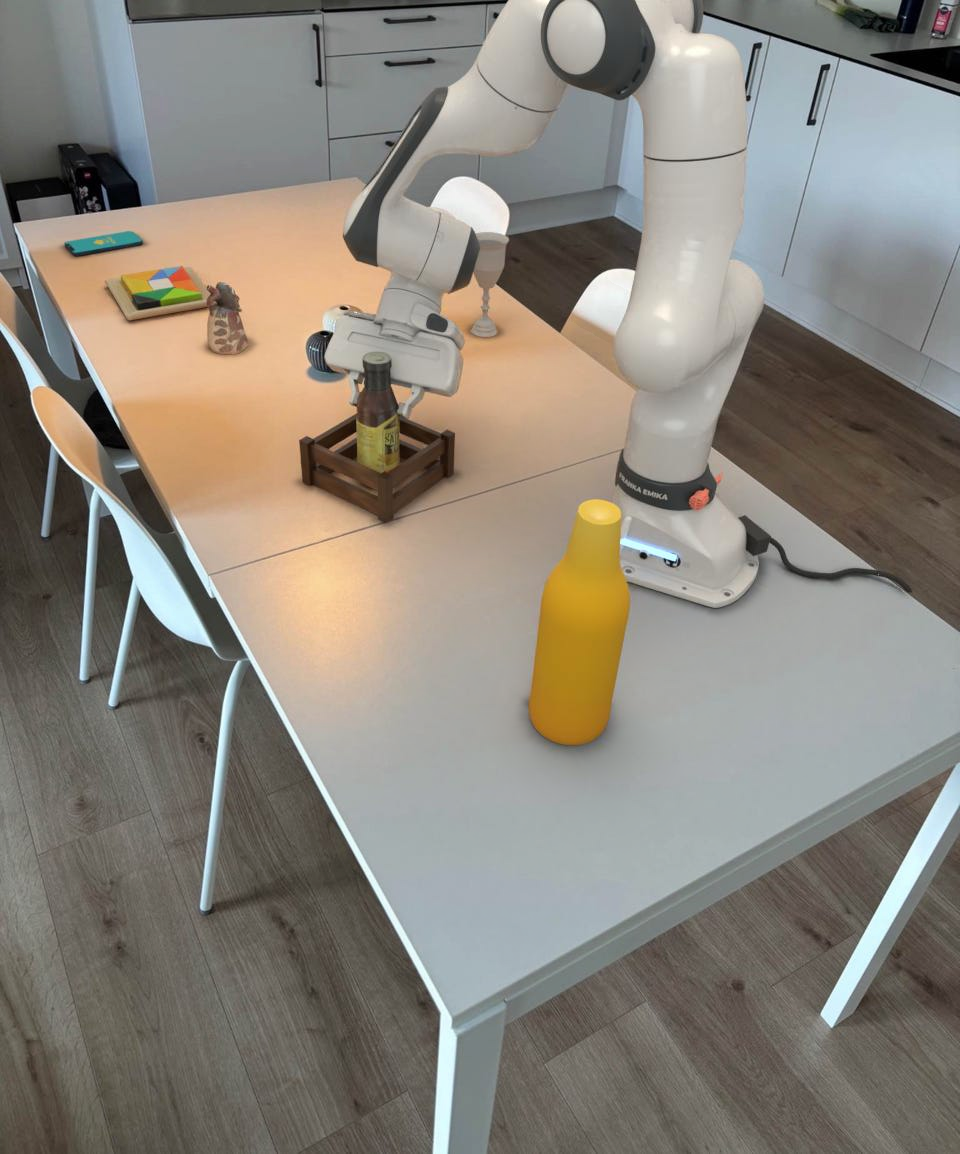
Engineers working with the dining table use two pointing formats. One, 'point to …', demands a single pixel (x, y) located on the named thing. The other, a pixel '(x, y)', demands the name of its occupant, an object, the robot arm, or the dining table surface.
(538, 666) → the beer bottle
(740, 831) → the dining table surface
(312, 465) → the crate
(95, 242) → the smartphone
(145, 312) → the wooden puzzle
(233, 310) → the figurine
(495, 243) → the chalice
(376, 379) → the sauce bottle
